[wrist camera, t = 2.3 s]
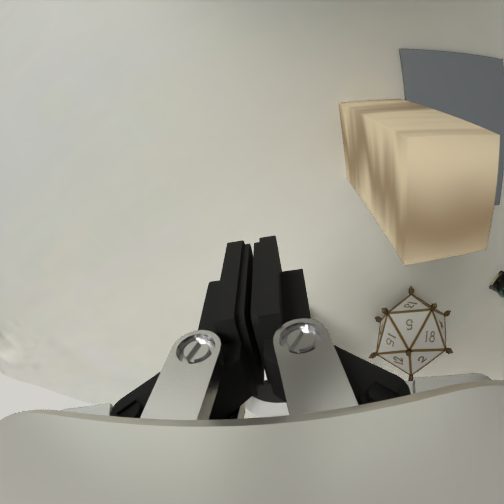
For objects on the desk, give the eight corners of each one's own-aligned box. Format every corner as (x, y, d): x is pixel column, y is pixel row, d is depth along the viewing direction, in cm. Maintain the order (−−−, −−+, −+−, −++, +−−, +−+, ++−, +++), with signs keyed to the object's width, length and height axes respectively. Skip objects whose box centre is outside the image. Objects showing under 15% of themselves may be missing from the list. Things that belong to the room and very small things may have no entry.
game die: (403, 276, 33) (479, 302, 25) (387, 343, 35) (454, 376, 27) (357, 283, 29) (449, 319, 21) (339, 362, 30) (417, 408, 22)
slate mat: (399, 48, 18) (401, 48, 18) (500, 59, 17) (503, 59, 16) (408, 214, 25) (409, 216, 25) (497, 202, 24) (499, 204, 24)
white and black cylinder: (234, 297, 30) (226, 383, 22) (303, 281, 29) (317, 368, 21) (254, 342, 34) (252, 423, 25) (315, 329, 33) (328, 411, 24)
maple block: (338, 102, 21) (407, 137, 11) (400, 98, 20) (499, 135, 10) (346, 178, 24) (404, 265, 14) (404, 171, 23) (486, 249, 13)
